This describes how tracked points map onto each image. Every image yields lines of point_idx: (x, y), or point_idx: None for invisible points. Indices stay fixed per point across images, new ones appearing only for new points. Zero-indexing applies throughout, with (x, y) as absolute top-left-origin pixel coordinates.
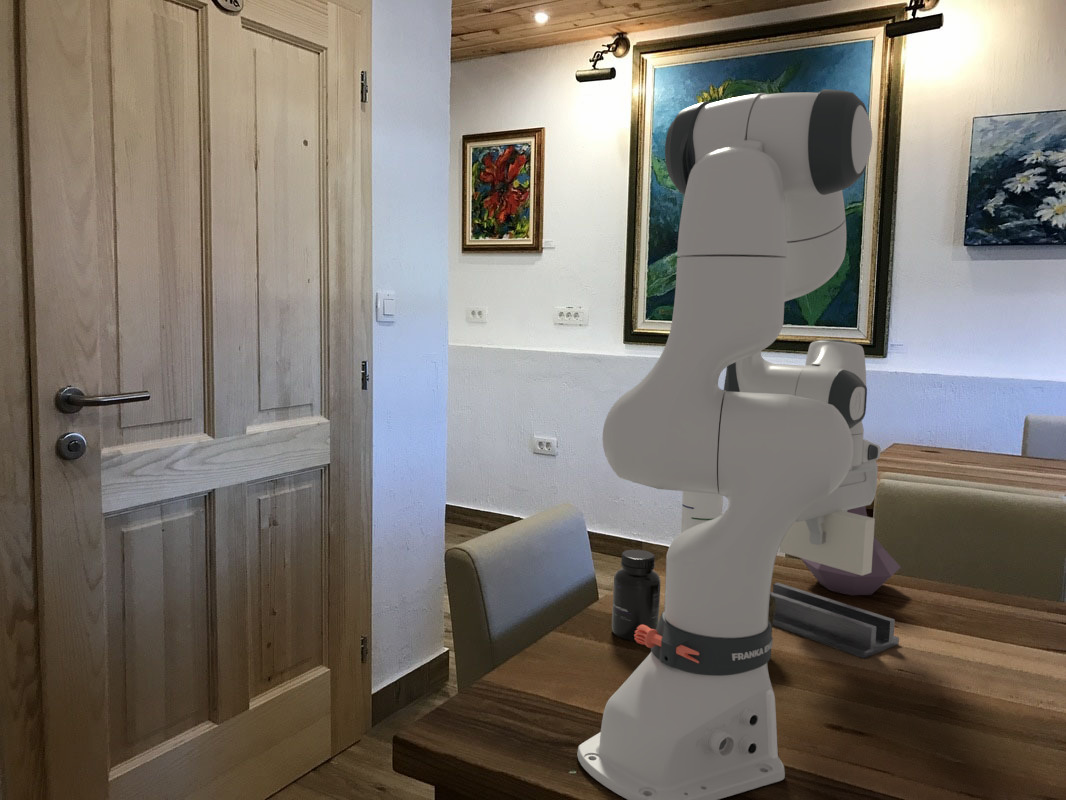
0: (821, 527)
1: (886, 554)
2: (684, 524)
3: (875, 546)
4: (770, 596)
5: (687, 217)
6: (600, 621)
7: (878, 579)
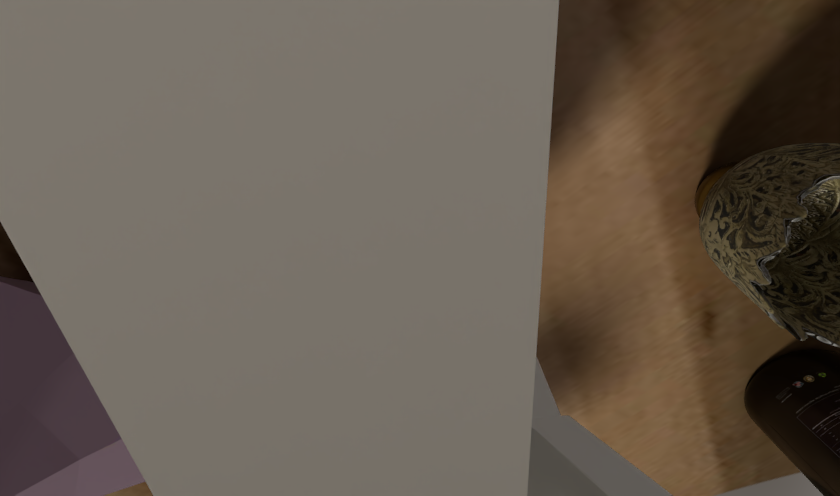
0: (584, 466)
1: None
2: None
3: None
4: (789, 234)
5: None
6: (777, 450)
7: (26, 287)
